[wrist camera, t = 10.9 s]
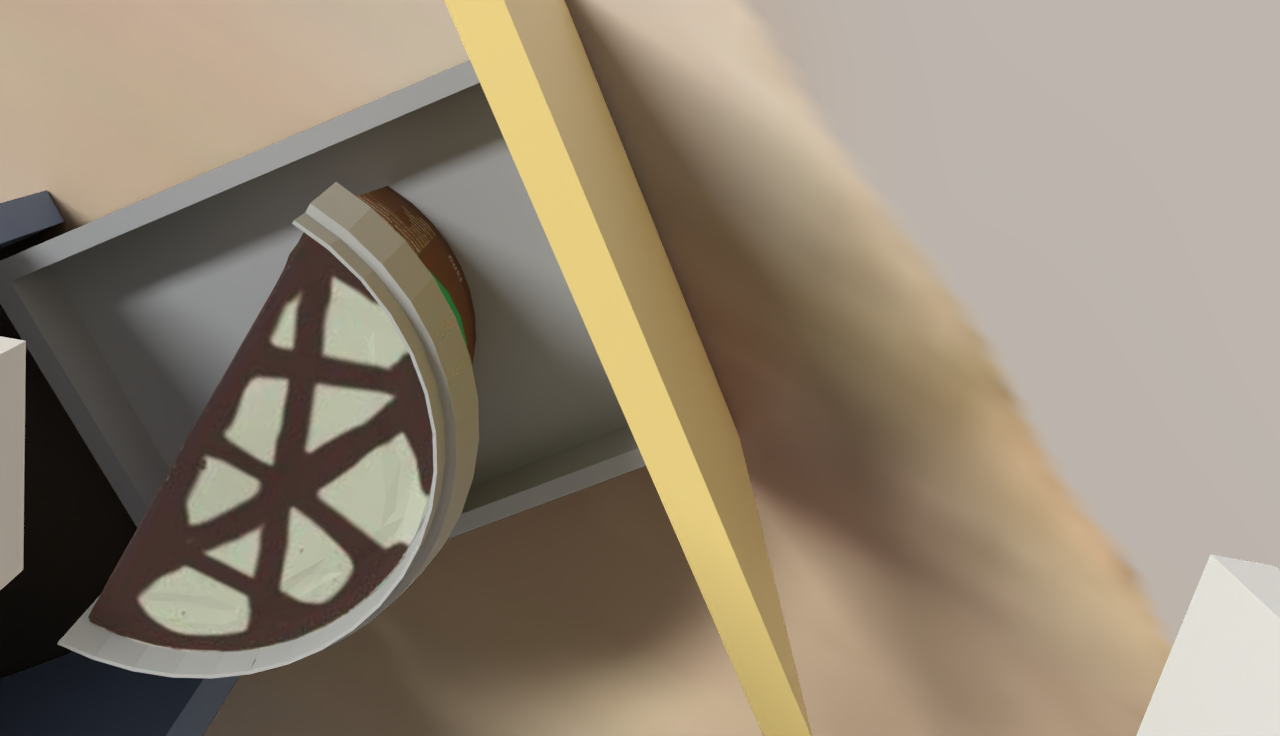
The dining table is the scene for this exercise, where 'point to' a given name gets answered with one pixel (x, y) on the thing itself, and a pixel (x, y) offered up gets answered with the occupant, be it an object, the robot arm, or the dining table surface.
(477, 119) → the tan boxy piece
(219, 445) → the food container
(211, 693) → the open box
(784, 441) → the dining table surface
